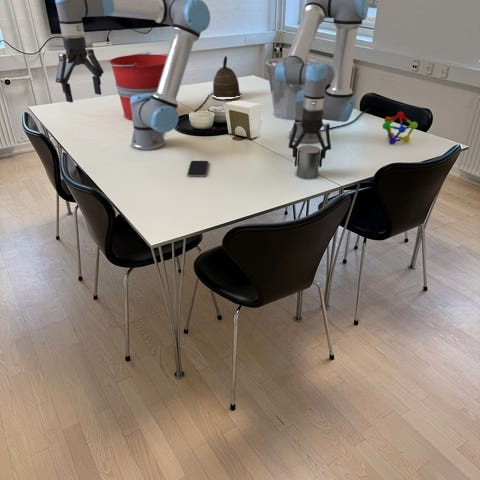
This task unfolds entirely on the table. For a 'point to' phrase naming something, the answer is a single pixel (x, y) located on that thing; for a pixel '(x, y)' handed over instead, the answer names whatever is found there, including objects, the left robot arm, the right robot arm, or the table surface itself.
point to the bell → (225, 82)
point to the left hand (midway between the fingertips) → (84, 97)
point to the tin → (308, 162)
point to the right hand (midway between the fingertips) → (307, 165)
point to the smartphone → (198, 168)
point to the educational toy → (398, 128)
